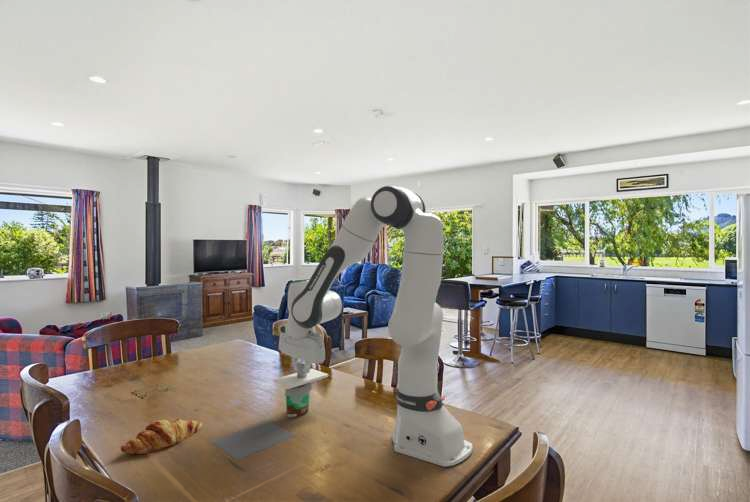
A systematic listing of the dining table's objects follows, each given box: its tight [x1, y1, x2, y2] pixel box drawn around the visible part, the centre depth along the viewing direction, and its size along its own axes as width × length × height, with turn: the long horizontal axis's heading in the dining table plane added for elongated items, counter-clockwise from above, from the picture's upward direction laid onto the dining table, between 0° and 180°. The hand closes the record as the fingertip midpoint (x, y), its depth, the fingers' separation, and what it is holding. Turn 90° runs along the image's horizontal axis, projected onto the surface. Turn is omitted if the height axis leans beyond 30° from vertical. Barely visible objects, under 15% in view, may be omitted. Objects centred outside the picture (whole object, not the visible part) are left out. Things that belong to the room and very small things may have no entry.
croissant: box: [120, 418, 203, 455], centre depth 111 cm, size 21×10×8 cm, turn 140°
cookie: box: [131, 383, 177, 399], centre depth 151 cm, size 12×12×1 cm
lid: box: [273, 361, 329, 389], centre depth 130 cm, size 9×15×5 cm, turn 137°
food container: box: [284, 382, 313, 419], centre depth 131 cm, size 12×6×10 cm, turn 168°
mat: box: [211, 420, 296, 461], centre depth 113 cm, size 14×18×1 cm
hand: (301, 371), depth 130 cm, fingers closed on lid, 3 cm apart
